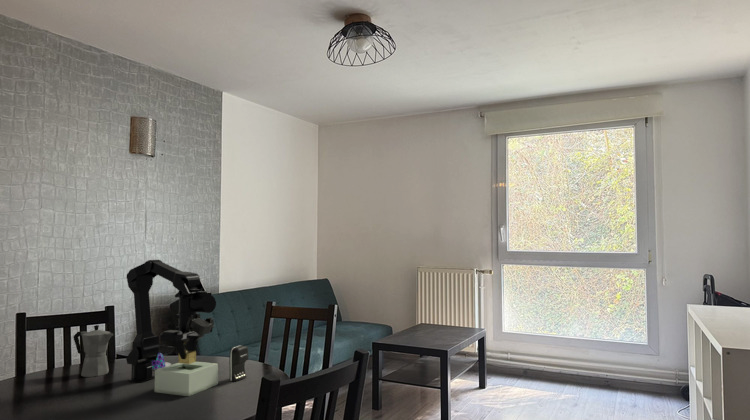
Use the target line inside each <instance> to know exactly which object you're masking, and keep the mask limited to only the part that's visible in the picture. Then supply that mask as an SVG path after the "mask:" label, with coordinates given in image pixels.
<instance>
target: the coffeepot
mask: <svg viewBox="0 0 750 420" xmlns="http://www.w3.org/2000/svg"><path fill="white" fill-rule="evenodd" d="M99 327H100V325H98V324H96V325H94V326H93V329H94V330H91V331H81V330H80V331H77V332H76V333H75V334H74V335H73V342H74V344H75V347H76V351H77V353H78V354H80V355H81V354H82V355H83V354H84V353H85V356H84V360H83V364H82V369H81V373H80V376H81V377H84V378H95V377H94V376H96V377H100V376H104V375H108V374H109V371H110V370H109V369H110V368H109V363H108V357H107V355H106V354H107V351H108V346H109V341H110V339H111V338H112V337H113V336H114V333H113V332H111V331H106V330H102V329H100V330H99ZM79 337H81V338H82V344H83V350H82V349H81V348H82V346H81V343H80V338H79Z"/></svg>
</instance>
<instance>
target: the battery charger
mask: <svg viewBox="0 0 750 420" xmlns="http://www.w3.org/2000/svg"><path fill="white" fill-rule="evenodd" d="M247 361H249V349H248V347H247V346H246V345H237V346H233V347H232V348H230V351H229V381H231V382H239V381H241V380H243V379H246V378H247V372H246V370H245V367H246V366H245V363H246V362H247Z"/></svg>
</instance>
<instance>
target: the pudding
mask: <svg viewBox="0 0 750 420" xmlns="http://www.w3.org/2000/svg"><path fill="white" fill-rule="evenodd" d="M170 365H172V363H171V362H167V361H165V358H164V354H163V353H161V352H158V355H157V359H156V360H153V361H152V371H153V370H154V371H155V370H157V369H160V368H164V367H167V366H170Z"/></svg>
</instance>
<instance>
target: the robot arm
mask: <svg viewBox="0 0 750 420" xmlns="http://www.w3.org/2000/svg"><path fill="white" fill-rule="evenodd" d="M157 276H158V277H161V278H163V279H165V280H167V281H169V282H171V283H172V286H173V287H174V288H175V289H176V290H177V291H178V292H177V293H175V295H174V298H178V313H177V314H175V318H177V319H178V326H175V329H174V330H173V329H168V330H164V331H162V332H161V333H160V337H159V335H155V333H154V332H153V329H152V328H153V327H152V315H151V302H150V291H151V288H152V287H153V285H154V278H156V277H157ZM126 282H127V287H128V288H129V290H130V291H131V292H132V293H133V303H134V316H135V328H136V335H135V337H134V339H133V341H132V349H131V351H130V352H129V353H128V355H127V356H126V358H125V359H126V363H127V365H131V374H130V375H131V376H130V377H131V378H128V379H127V381H128V382H135V383H143V382H146V381H149V380H152V379H155V375H153V370H152V361H153V360H156V359H157V355H158V353H160V347H161V346H160V341H162V342H172V344H173V346H174V347H175V349H176V350H177V352H178V356H179V355H180V357H181V359H185V356H186V350H187V351H196V348H197V344H198V342H199V341H200V339H202V338H203V337H205V335H206V334H207V335H208V334H210V333H213V329H214V327H215V326H214V325H215V322H214V318H212V317H208V318H206V319H203V318H201V313H203V314H204V313H206V314H211V313H212V312H214V311H215V309H216V307H217V301H216V298H215V296H213V295H212V291H207V289H206V287H205V285H204V284H203V281H202V280H201V276H200V275H199V274H198V273H195V272H191V271H182V270H179V269H177V268H176V267H173V266H171V265H170V264H167V263H165V262H163V261H162V260H160V259H148V260H147V261H145V262H144V263H142V264H140V265H137V266H134V268H131V269H129V271H128V272H127V274H126Z"/></svg>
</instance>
